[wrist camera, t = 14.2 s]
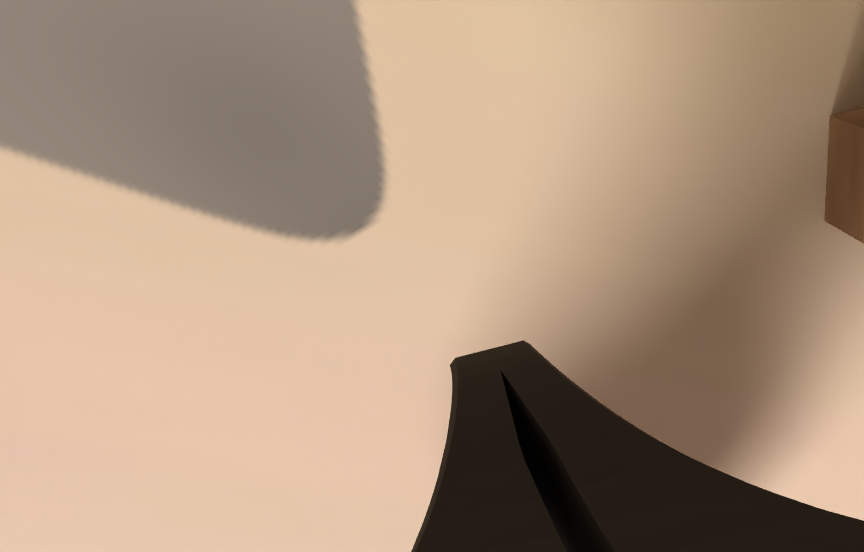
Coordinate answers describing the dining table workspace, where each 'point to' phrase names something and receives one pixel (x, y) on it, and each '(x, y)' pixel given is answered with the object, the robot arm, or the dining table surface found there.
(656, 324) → the dining table surface
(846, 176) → the brown rectangular block
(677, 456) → the robot arm
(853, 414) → the dining table surface
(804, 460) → the dining table surface
